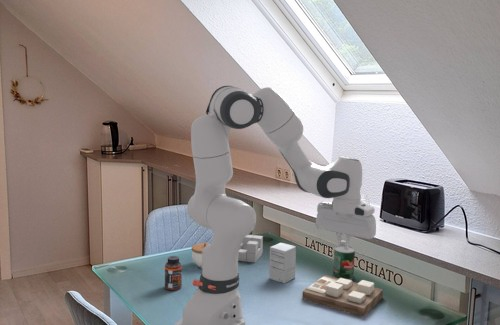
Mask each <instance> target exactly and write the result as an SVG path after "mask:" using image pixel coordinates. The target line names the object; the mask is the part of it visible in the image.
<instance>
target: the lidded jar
mask: <svg viewBox="0 0 500 325" xmlns="http://www.w3.org/2000/svg"><path fill="white" fill-rule="evenodd" d="M209 243H210V242H200V243H196V244H194V245H192V246H191V256H192V260H193V262H194V264H195V265H196V266H197V267H198V268H201V269H202V252H203V249H204V247H205V246H207V245H208V244H209Z"/></svg>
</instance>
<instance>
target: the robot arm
mask: <svg viewBox="0 0 500 325" xmlns="http://www.w3.org/2000/svg"><path fill="white" fill-rule="evenodd" d="M254 124H257V125H258V126H259V127H260V129H261V130H262V132H263V133H264V134H265V136H267V138H268V139H269V140H270V141H271V142H272V144H274V145H275V147H276V148H277V149H278V151H279V152H280V154H281V155H282V157H283V159H284V160H285V161H286V163H287V164H288V166H289V168H290V169H291V171H292V172H293V176H294V180H295V182H296V186H297V187H298V188H299V190H301V191H302V192H305V193H309V194H311V195H314V196H317V197H320V198H324V199H332V202H326V201H321V202H319V203H318V204H317V206H316V209H317V210H316V211H317V213H316V219H315V227H316V228H317V229H319V230H322V231H328V232H332V233H335V236H336V239H337V241H338V245H337V246H342V247H346V248H347V247H348V246H349V244H350V241H351V240H352V239H353V238H354V237H358V238H362V239H366V240H372V239H374V237H376V234H377V233H376V232H377V221H376V218H375V215H373V214H374V213H375V208H374V206H371V205H369V204H368V203H366V202H364V201H362V197H361V196H362V195H361V188H362V184H363V165H362V162H361V161H360V160H358V159H356V158H352V157H349V156H344V155H343V156H338V157H337V159H335V161H333V162H331V163H330V164H327V165H325V166H323V165H319V164H317V163H315V162H312V161H311V160H309V158H308V156H307V155H306V154H305V152H304V150H303V149H302V147H301V146H300V144H299V143H298V142H299V141H300V140H301V138H302V136H303V132H304V125H303V123H302V121H301V119H300V117H299V115H298V114H297V112H296V111H295V109H294V108H293V107H292V106H291V105H290V104H289V102H288V101H287V100H286V99H285V98H284V97H283V96H282V94H280V93H279V92H278V91H277V90H276V89H274V88H273V87H270V86H269V87H262V88H260V89H258V90H256V91H255V93H249V92H248V91H245V90H244V89H242V88H239V87H237V86H233V85H223V86H220V87H218V88H217V89H216V90H214V91H213V93H212V95H211V97H210V100H209V102H208V104H207V108H206V111H205V115H201V116H199V117H197V118H195V119H194V120H193V121H192V123H191V127H190V140H191V141H190V143H191V153H192V160H193V165H194V174H195V187H194V188H195V189H194V194H193V195H192V196H191V197H190V198H189V200H188V202H187V206H186V211H187V215H188V217H189V218H190V220H192V221H193V222H195V223H196V224H198V226H201V227H203V228H206V229H208V230H212V237H211V242H208V243H209V244H208V245H207V246H205V247H204V249H203V252H202V268H201V272H200V277H199V279H196V278H194V279H193V281H192V286H194V287H197V289H196V291H194V293H193V295H192V296H191V298H190V299H189V300H188V302H186V304H185V305H184V307H183V311H182V317H181V318H180V319H179V320H177V321H176V322H175V323H174V325H246V321H245V319H244V316H243V309H242V297H241V294H240V291H239V286H240V273H239V272H238V271H239V269H238V268H239V261H238V254H239V248H240V245H241V243H243V239H244V237H245V236H247V235H251V233H252V231H253V230H254V228H255V227H256V223H257V213H256V211H255V209H254V207H252V206H251V205H249V204H248V203H246V202H245V201H243V200H240V199H239V198H234V197H231V196H227V194H226V184H228V183H229V182H230V181H231V179H232V178H233V175H234V168H233V162H232V155H231V149H230V142H229V135H230V131H231V129H235V130H243V129H246V128H248V127H250V126H252V125H254ZM342 235H346V236H345V238H346V240H344V239H343V237H342ZM349 247H350V246H349Z"/></svg>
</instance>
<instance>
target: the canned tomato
mask: <svg viewBox="0 0 500 325" xmlns="http://www.w3.org/2000/svg"><path fill="white" fill-rule="evenodd" d="M333 250H334V252H333V270H332V273H333V274H332V277H335V278H339V279H340V278H344V279H348V280H353V279H354V278H353V277H355V276H354V275H355V258H356V257H355V255H356V249H355V248H354V247H351V246H348V247H347V248H346V247H342V246H339V245H337V246H334V248H333Z"/></svg>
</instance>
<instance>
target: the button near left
mask: <svg viewBox="0 0 500 325" xmlns="http://www.w3.org/2000/svg"><path fill="white" fill-rule="evenodd" d="M326 294H327V295H331V296H334V297H339V296H341V295H342V294H343V285H342V284H338V283H334V282H330V283H329V284H328V285H326Z"/></svg>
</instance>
